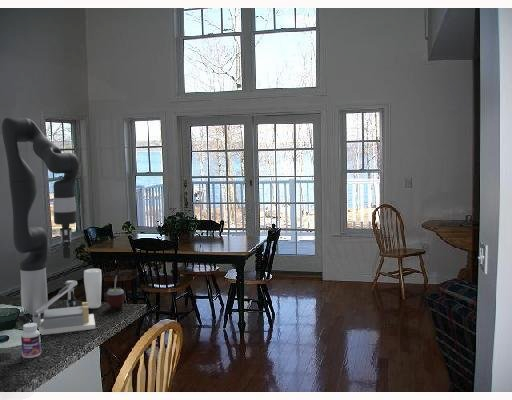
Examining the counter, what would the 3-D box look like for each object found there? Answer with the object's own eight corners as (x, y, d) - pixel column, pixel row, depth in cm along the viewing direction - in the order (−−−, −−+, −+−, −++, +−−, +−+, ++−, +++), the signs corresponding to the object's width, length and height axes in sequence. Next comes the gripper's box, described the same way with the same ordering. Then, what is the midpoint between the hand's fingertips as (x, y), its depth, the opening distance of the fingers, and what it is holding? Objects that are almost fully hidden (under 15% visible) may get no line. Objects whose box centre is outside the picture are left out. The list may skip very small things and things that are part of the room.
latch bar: (35, 317, 191) (32, 313, 190) (36, 314, 194) (33, 310, 194) (77, 285, 194) (74, 281, 194) (77, 282, 198) (74, 278, 198)
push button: (73, 308, 217) (72, 284, 216) (60, 308, 217) (59, 283, 216) (80, 303, 224) (79, 279, 223) (67, 303, 224) (66, 279, 223)
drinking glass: (87, 310, 214) (85, 273, 213) (83, 305, 220) (82, 269, 219) (104, 307, 218) (103, 271, 216) (100, 303, 224) (99, 267, 222)
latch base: (28, 336, 186) (27, 315, 185) (30, 324, 198) (29, 305, 198) (95, 328, 193) (94, 308, 193) (93, 317, 206) (92, 299, 205)
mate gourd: (114, 305, 221) (113, 269, 219) (130, 307, 217) (129, 271, 216) (102, 310, 214) (100, 273, 212) (118, 313, 211) (117, 275, 209)
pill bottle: (22, 359, 166) (20, 328, 165) (22, 353, 171) (20, 323, 170) (41, 356, 168) (39, 326, 167) (40, 350, 173) (39, 321, 172)
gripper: (76, 212, 187) (78, 259, 189) (75, 207, 200) (77, 251, 202) (53, 213, 184) (55, 260, 186) (53, 208, 198) (55, 252, 199)
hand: (66, 255), depth 194 cm, fingers open, 7 cm apart
